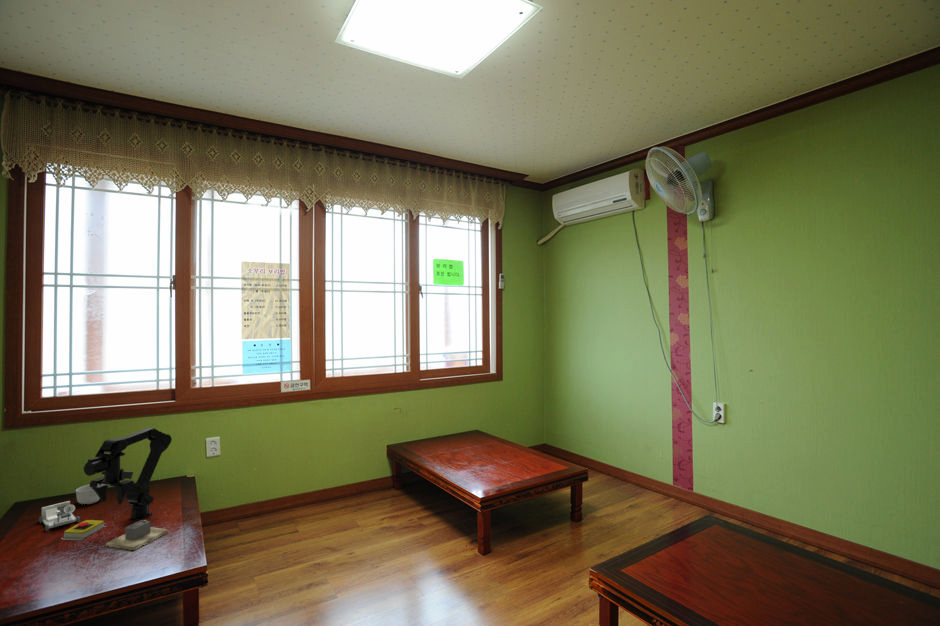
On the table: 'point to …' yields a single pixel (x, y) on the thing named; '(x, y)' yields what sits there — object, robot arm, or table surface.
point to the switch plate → (132, 545)
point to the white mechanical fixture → (58, 515)
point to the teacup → (86, 495)
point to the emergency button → (83, 530)
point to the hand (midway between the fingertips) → (112, 503)
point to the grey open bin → (137, 530)
